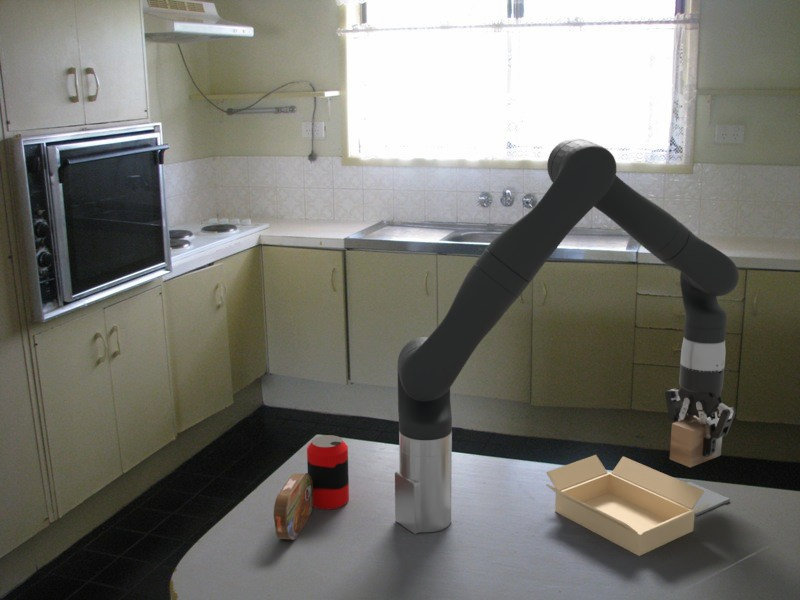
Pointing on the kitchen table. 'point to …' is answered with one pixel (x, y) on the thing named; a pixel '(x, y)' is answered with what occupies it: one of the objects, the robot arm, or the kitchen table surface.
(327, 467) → the soda can
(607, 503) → the carton
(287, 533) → the tin
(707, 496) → the mat
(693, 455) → the tan rectangular block
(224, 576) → the kitchen table surface
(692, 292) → the robot arm
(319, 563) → the kitchen table surface
